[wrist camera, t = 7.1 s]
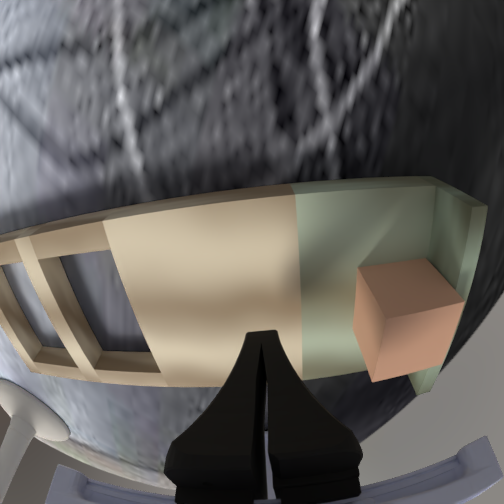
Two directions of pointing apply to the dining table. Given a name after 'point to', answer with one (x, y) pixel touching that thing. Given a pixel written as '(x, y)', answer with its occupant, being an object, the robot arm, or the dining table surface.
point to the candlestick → (24, 428)
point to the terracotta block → (404, 317)
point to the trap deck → (239, 275)
